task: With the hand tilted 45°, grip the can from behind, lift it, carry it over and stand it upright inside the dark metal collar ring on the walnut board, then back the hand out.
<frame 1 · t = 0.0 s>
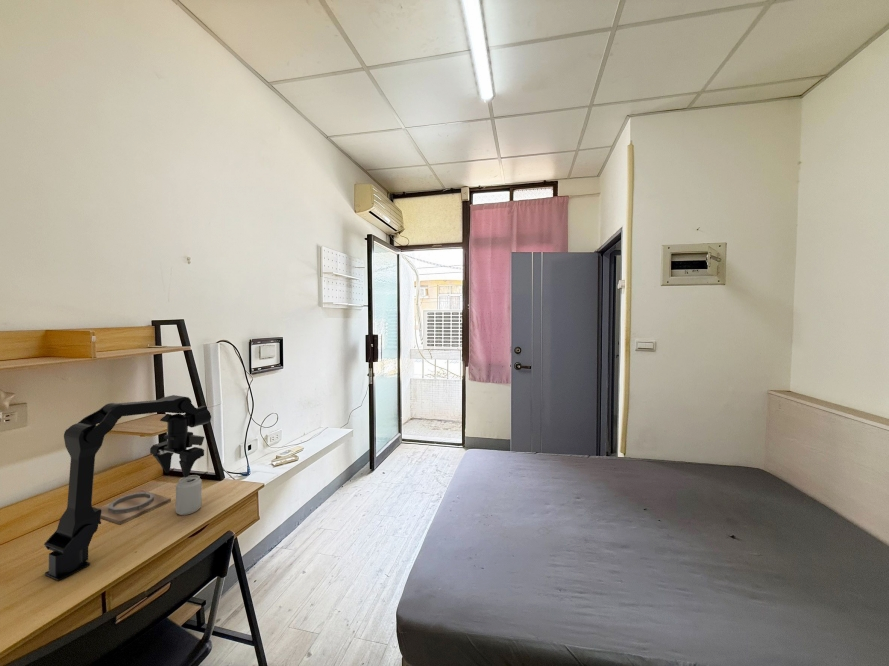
hand: (176, 474, 120), 15 cm above the table, tool pointing down, fingers open, 9 cm apart
can: (188, 511, 123), on the table
collar board: (131, 507, 124), on the table
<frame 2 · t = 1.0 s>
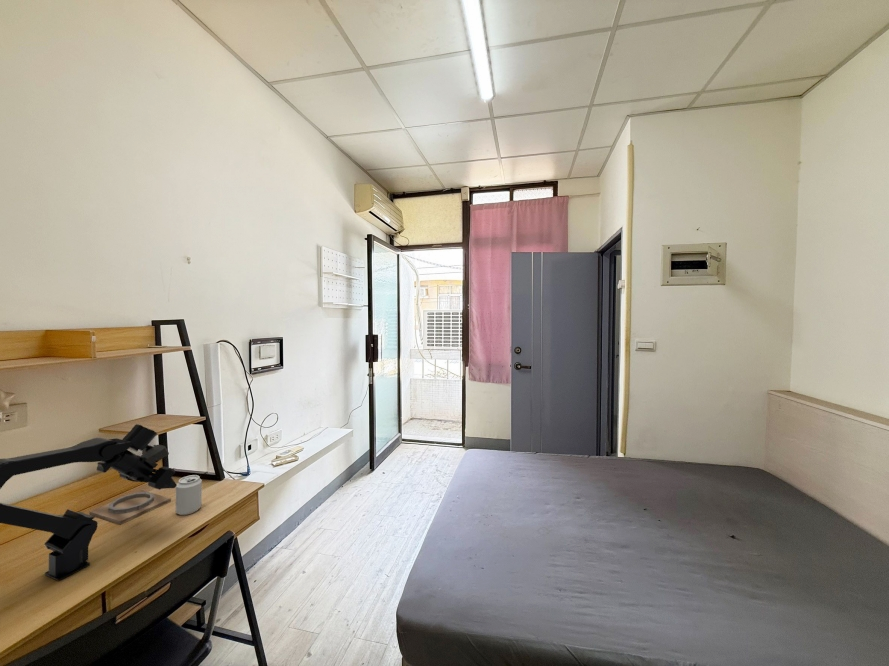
hand: (166, 483, 116), 13 cm above the table, tool tilted 45°, fingers open, 9 cm apart
nothing on the table moved.
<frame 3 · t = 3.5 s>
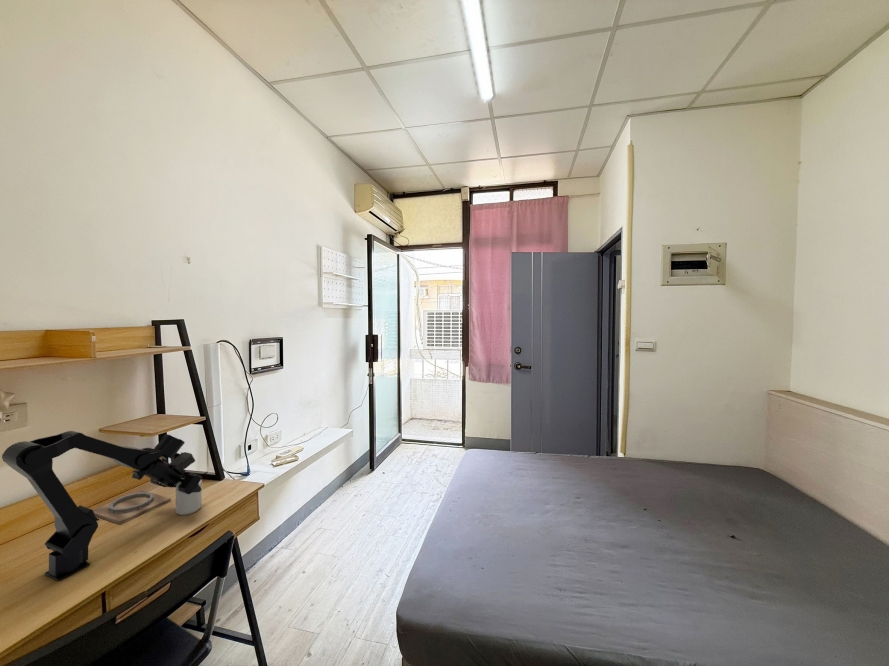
hand: (192, 488, 125), 8 cm above the table, tool tilted 45°, fingers closed on can, 7 cm apart
can: (188, 511, 123), on the table, touching gripper
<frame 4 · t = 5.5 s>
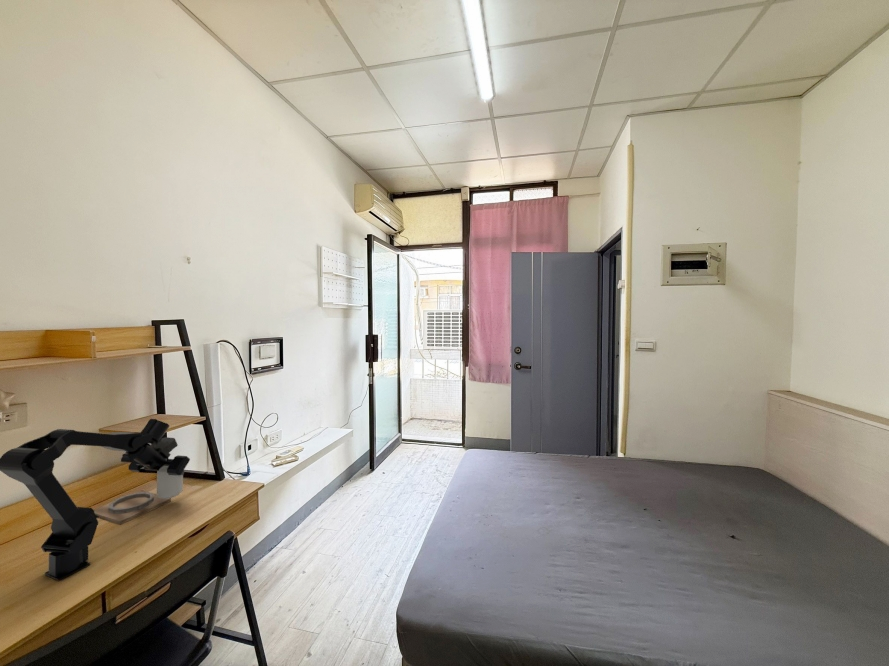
hand: (173, 472, 126), 12 cm above the table, tool tilted 45°, fingers closed on can, 7 cm apart
can: (169, 495, 125), point 4 cm above the table, touching gripper
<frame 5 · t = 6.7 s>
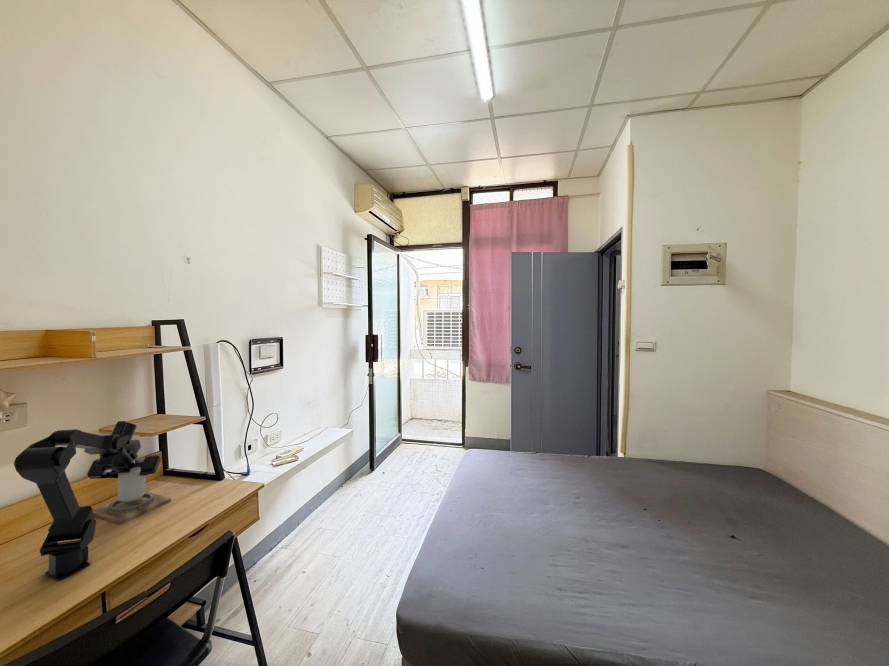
hand: (134, 475, 124), 11 cm above the table, tool tilted 45°, fingers closed on can, 7 cm apart
can: (131, 498, 123), point 3 cm above the table, touching gripper
when the fingers open (10 cm above the table, at t = 7.5 s): can drops 1 cm, resting on collar board.
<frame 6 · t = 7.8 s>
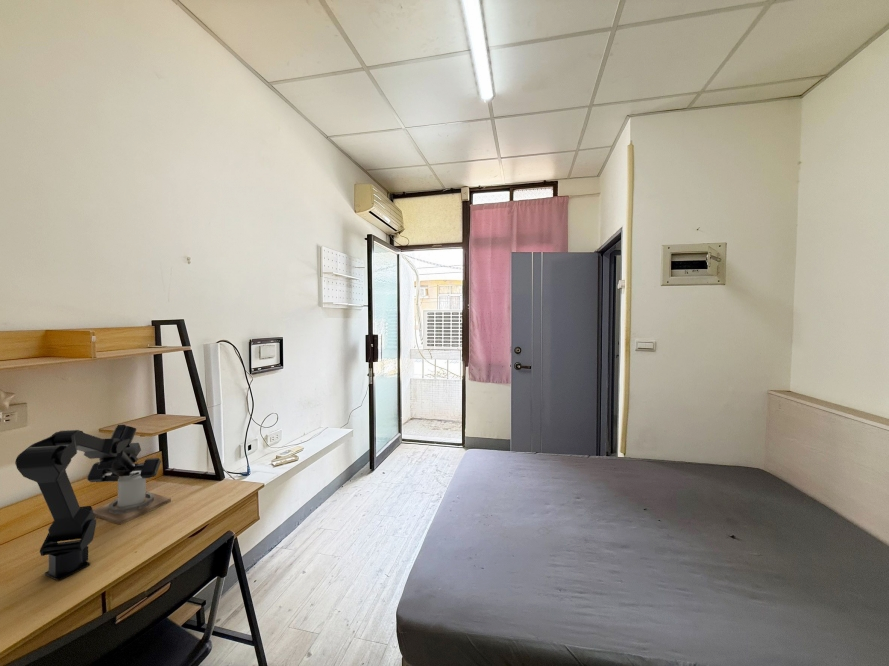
hand: (134, 478, 125), 10 cm above the table, tool tilted 45°, fingers open, 9 cm apart
can: (131, 505, 123), point 1 cm above the table, touching collar board
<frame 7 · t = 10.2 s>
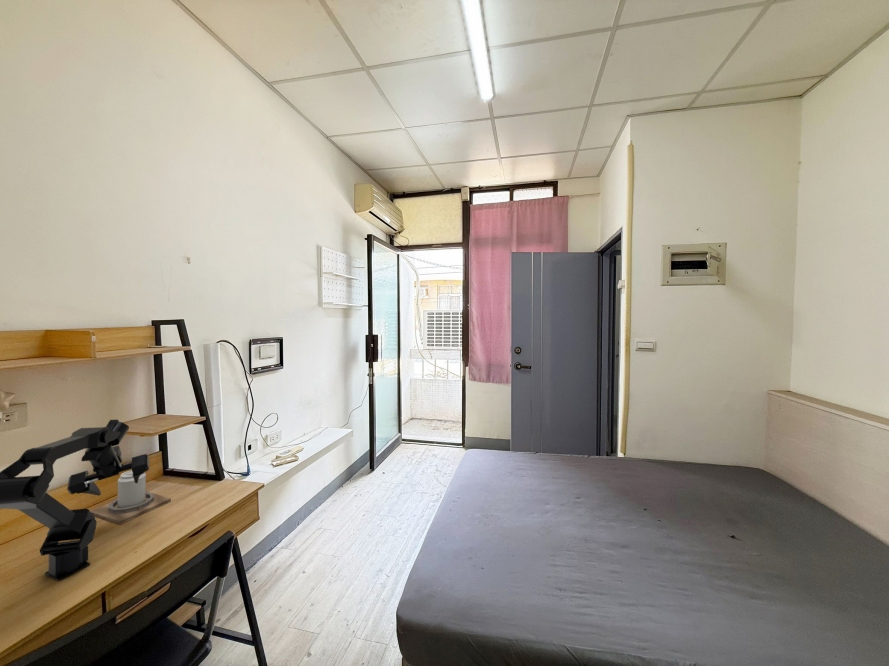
hand: (118, 488, 114), 12 cm above the table, tool tilted 30°, fingers open, 9 cm apart
nothing on the table moved.
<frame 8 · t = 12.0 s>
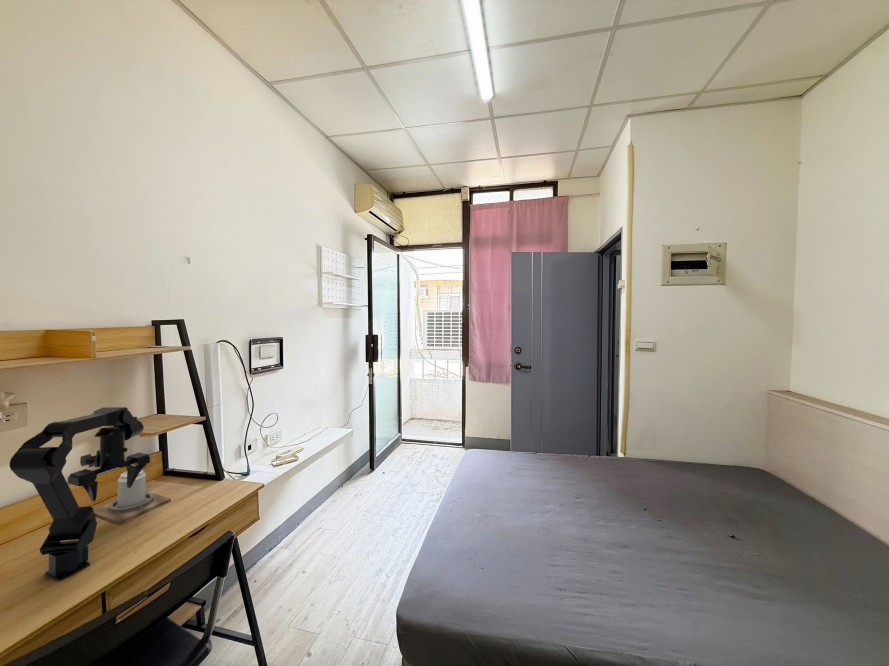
hand: (111, 494, 109), 13 cm above the table, tool pointing down, fingers open, 9 cm apart
nothing on the table moved.
at the end: can 0.2 cm off-centre on the collar board, point 1.0 cm above the collar board's base; can tilted 0°; the gripper is holding nothing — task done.
